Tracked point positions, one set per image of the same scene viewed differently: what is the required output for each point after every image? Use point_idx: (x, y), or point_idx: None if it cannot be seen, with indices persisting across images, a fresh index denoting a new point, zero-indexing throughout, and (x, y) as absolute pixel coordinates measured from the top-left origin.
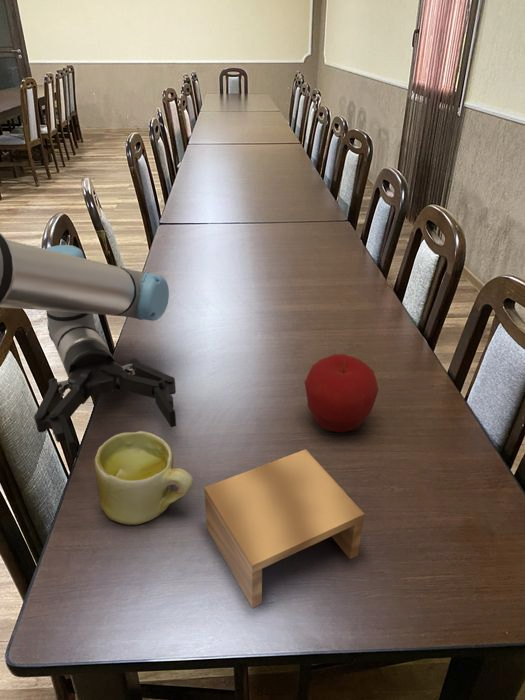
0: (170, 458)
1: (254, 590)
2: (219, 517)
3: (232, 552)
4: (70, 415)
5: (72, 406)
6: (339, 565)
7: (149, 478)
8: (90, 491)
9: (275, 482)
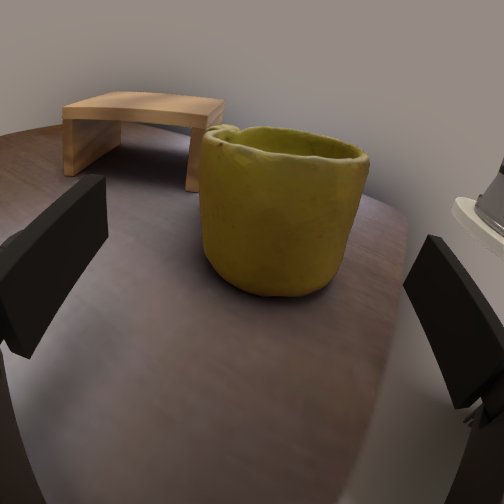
0: (220, 129)
1: None
2: (214, 117)
3: None
4: (459, 474)
5: (473, 489)
6: (131, 145)
7: (275, 127)
8: (350, 319)
9: (134, 102)
